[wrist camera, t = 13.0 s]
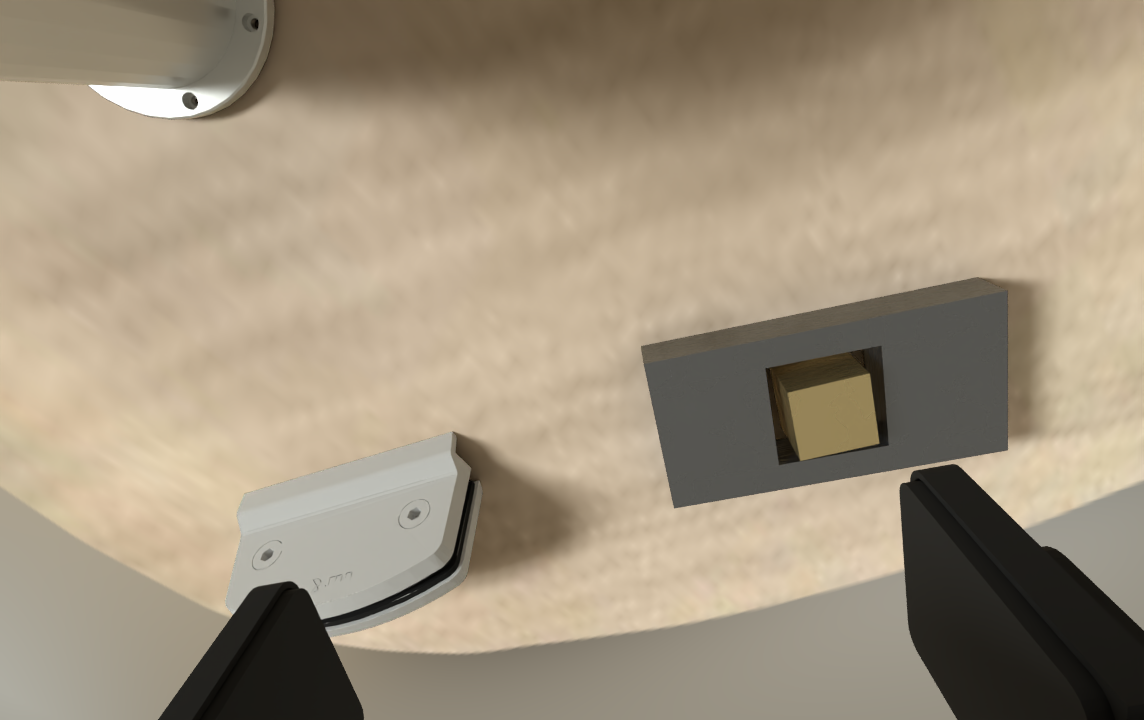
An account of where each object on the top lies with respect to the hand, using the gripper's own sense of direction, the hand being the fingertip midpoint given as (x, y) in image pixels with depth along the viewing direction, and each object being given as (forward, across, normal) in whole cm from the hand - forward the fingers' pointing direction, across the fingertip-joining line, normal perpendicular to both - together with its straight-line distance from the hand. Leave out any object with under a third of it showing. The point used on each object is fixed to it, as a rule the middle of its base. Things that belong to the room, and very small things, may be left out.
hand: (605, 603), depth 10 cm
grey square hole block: (+30, -11, +12) cm, 34 cm away
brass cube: (+30, -11, +12) cm, 34 cm away
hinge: (+31, +20, +15) cm, 39 cm away
